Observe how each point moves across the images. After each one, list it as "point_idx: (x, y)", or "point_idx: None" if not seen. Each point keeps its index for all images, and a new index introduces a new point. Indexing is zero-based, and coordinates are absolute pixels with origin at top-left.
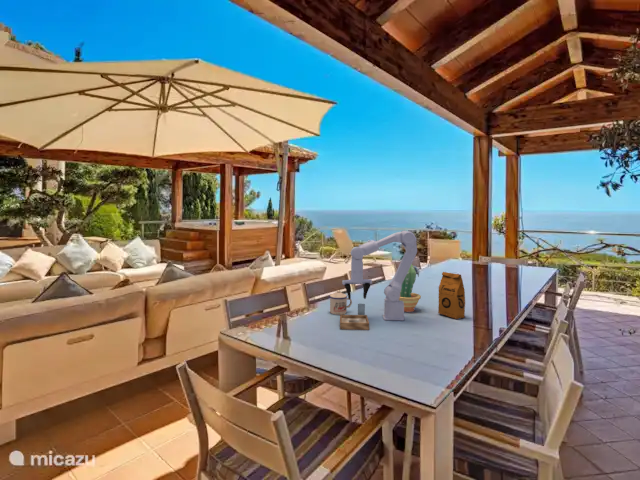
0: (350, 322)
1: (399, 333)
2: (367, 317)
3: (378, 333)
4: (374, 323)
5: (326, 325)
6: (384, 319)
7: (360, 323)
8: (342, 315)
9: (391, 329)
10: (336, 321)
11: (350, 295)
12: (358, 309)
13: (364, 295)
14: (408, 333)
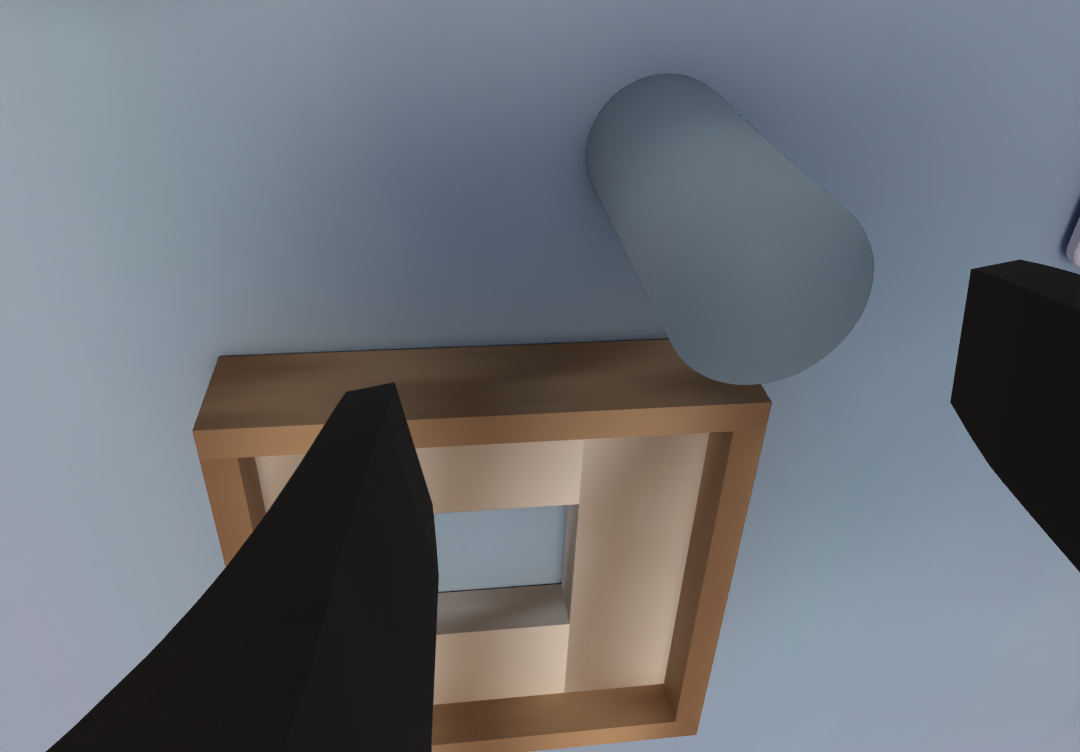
0: (434, 746)
1: (975, 692)
2: (740, 524)
3: (751, 722)
4: (823, 423)
5: (40, 590)
6: (1071, 258)
7: (576, 743)
8: (256, 453)
9: (952, 605)
10: (157, 394)
11: (433, 654)
12: (641, 283)
13: (1029, 469)
14: (1068, 679)
